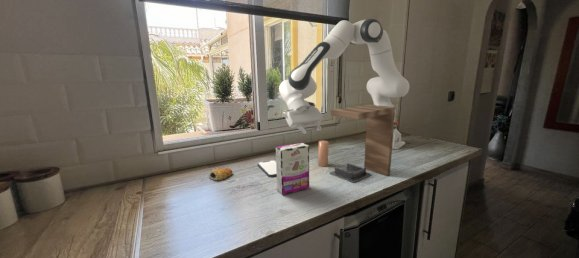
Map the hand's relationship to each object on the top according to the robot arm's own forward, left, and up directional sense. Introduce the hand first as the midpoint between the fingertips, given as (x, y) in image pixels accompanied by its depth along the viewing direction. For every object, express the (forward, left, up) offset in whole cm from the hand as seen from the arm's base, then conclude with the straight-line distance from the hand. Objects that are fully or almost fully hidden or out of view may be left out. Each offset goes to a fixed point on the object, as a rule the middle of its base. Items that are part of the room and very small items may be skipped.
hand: (312, 131), depth 120 cm
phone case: (+21, -4, -15) cm, 26 cm away
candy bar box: (+27, +17, -15) cm, 35 cm away
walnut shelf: (0, +27, -15) cm, 31 cm away
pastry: (+42, -12, -15) cm, 46 cm away
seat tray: (0, +22, -15) cm, 26 cm away
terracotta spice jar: (0, +7, -15) cm, 16 cm away
